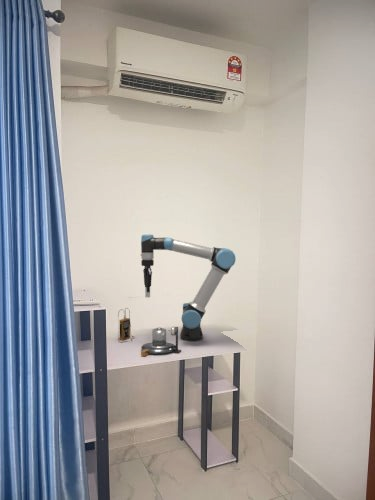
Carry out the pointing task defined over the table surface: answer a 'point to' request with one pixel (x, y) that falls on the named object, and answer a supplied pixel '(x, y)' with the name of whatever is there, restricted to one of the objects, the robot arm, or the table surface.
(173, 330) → the indicator
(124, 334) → the multimeter
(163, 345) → the cover
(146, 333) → the table surface
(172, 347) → the turntable
